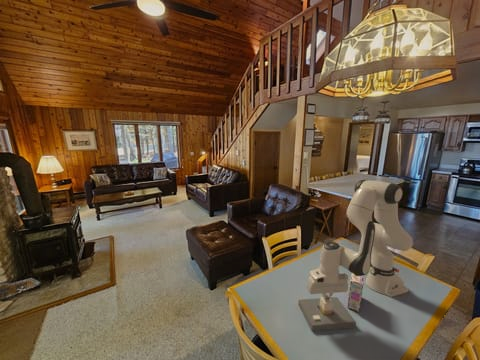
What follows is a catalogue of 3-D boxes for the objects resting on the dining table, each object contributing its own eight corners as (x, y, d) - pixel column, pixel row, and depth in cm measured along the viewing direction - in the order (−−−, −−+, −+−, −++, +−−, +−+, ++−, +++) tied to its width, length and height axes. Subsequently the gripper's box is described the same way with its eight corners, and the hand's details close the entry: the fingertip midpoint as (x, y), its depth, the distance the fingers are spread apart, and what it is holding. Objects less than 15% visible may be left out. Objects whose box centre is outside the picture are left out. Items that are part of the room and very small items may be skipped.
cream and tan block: (327, 311, 106) (328, 296, 105) (331, 318, 102) (333, 302, 100) (318, 312, 106) (320, 296, 104) (323, 319, 101) (324, 303, 100)
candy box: (359, 312, 106) (363, 284, 103) (347, 308, 109) (350, 280, 106) (360, 296, 117) (363, 270, 114) (349, 292, 120) (352, 267, 117)
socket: (336, 301, 113) (336, 295, 112) (355, 327, 97) (356, 320, 97) (298, 304, 111) (298, 298, 110) (311, 330, 95) (312, 323, 94)
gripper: (344, 269, 104) (342, 293, 107) (306, 271, 102) (304, 295, 104) (352, 277, 98) (349, 302, 100) (312, 279, 96) (310, 305, 98)
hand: (326, 299), depth 102 cm, fingers closed
